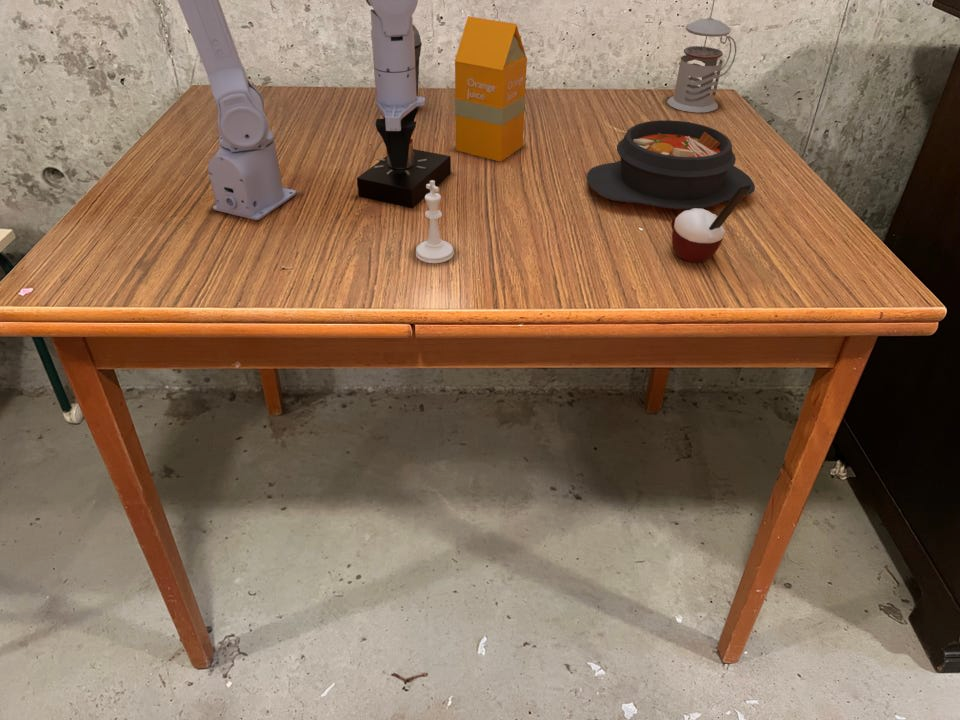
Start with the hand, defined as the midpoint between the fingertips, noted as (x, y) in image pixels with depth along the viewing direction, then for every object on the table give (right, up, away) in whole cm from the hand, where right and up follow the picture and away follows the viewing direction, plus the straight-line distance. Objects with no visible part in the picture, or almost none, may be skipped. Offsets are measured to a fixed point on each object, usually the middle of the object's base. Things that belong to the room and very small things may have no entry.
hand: (400, 161), depth 103 cm
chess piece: (+6, -16, -14) cm, 22 cm away
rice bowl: (+40, -17, -14) cm, 45 cm away
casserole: (+40, -5, +1) cm, 41 cm away
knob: (0, 0, 0) cm, 0 cm away
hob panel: (+1, -3, +2) cm, 4 cm away
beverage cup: (-2, +18, +28) cm, 33 cm away
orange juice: (+14, +6, +13) cm, 20 cm away
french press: (+55, +20, +32) cm, 66 cm away
